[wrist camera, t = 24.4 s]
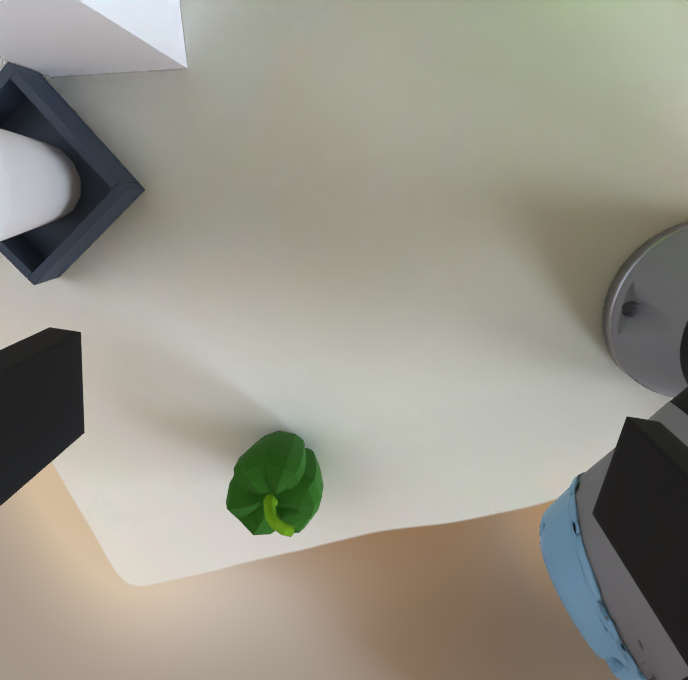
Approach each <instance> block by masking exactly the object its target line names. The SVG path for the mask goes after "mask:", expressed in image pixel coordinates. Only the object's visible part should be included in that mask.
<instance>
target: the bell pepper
mask: <svg viewBox="0 0 688 680" xmlns="http://www.w3.org/2000/svg"><path fill="white" fill-rule="evenodd" d="M322 491H323V481H322V476H321V471H320V467H319V464H318V461H317V459H316V457H315V454H314V452H313V451H312V450H310V449H307V448H305V446H304V441H303V440H302V439H301V438H300V437H298V436H297V435H296V434H292V433H288V432H283V431H277V432H274V433H271V434H269V435H266V436H264V437H262V438H261V439H260V440H259V441H258V442H256V443H255V444H254V445H253V446H252V447H251V448H250V449H248V450H247V451H246V452H245V453H244V454H243V455H242V456H241V457H240V458H239V460H238V462H237V464H236V465H235V467H234V476H233V478H232V480H231V482H230V484H229V489H228V495H227V500H226V505H227V509H228V510H229V511H230V512H231V513H232V514H233V515H234V516H235V517H236V518H238V519H239V520H240V521H241V522H242V523H243V525H244V526H245V527H246V528H247V529H248V530H249V531H250V532H251V533H252V534H253V535H262V534H271V533H272V532H274V531H277V532H278V533H280V534H281V535H285V536H289V537H291V536H292V535H293V534H294V533H299V532H300V531H301V530H302V529H304V528H305V526H306V525H307V524H308V522H309V521H310V520H311V518H312V517H313V516H314V514H315V513H316V512H317V511H318V508H319V505H320V502H321V497H322Z"/></svg>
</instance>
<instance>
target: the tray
mask: <svg viewBox="0 0 688 680" xmlns="http://www.w3.org/2000/svg"><path fill="white" fill-rule="evenodd" d="M0 129H3V130H6V131H10V132H13V133H16V134H20V135H23V136H26V137H29V138H33V139H36V140H39V141H42V142H45V143H47V144H50V145H52V146H54V147H57V148H59V149H61V150H62V151H63V152H64V153H65V154H66V155H67V156H68V157H69V158H70V159H71V161H72V162H73V163H74V165H75V167H76V170H77V172H78V175H79V177H80V179H81V196H80V198H79V200H78V202H77V204H76V206H75V208H74V210H73V211H71V212H70V213H68V214H67V215H65V216H64V217H62V218H59V219H58V220H55V221H53V222H50V223H47V224H45V225H42V226H39V227H37V228H34V229H32V230H29V231H26V232H24V233H21V234H18V235H16V236H13V237H11V238H8V239H5V240H3V241H0V252H1V253H2V254H3V255H4V256H5V257H6V258H7V259H8V260H9V261H10V262H11V263H12V264H13V265H14V266H15V267H16V268H17V269H18V270H19V271H20V272H21V273H22V274H23V275H24V276H25V277H26V278H28V280H29V281H30V282H31V283H32V284H33V285H36V284H39V283H42V282H46V281H49V280H52V279H55V278H59V277H60V276H61V275H62V274H63V273H64V272H65V271H66V270H67V269H68V268H69V267H70V266H71V265H72V264H73V263H74V262H75V261H76V260H77V259H78V257H79V256H80V255H81V254H82V253H83V252H84V251H85V250H86V249H87V248H88V247H89V246H90V245H91V244H92V243H93V242H94V241H95V240H96V239H97V238H98V237H99V236H100V235H101V234H102V233H103V232H104V231H105V230H106V229H107V228H108V227H109V226H110V225H111V224H112V223H113V222H114V221H115V220H116V219H117V218H118V217H119V216H120V215H121V214H122V213H123V212H124V211H125V210H126V209H127V208H128V207H129V206H130V205H131V204H132V203H133V202H134V201H135V200H136V199H137V198H138V197H139V196H140V195H141V194H142V193H143V192H144V191H145V189H144V188H143V187H142V186H141V185H140V184H139V182H138V181H137V180H136V179H135V178H134V177H133V176H132V175H131V174H130V172H129V171H128V170H127V169H126V168H125V167H124V166H123V165H122V164H121V162H120V161H119V160H118V159H117V158H116V157H115V156H114V155H113V154H112V153H111V151H110V150H109V149H108V148H107V147H106V146H105V145H104V144H103V143H102V141H101V140H100V139H99V138H98V137H97V136H96V135H95V134H94V133H93V131H92V130H91V129H90V128H89V127H88V126H87V125H86V124H85V123H84V121H83V120H82V119H81V118H80V117H79V116H78V115H77V114H76V113H75V112H74V110H73V109H72V108H71V107H70V106H69V105H68V104H67V103H66V102H65V100H64V99H63V98H62V97H61V96H60V95H59V94H58V93H57V92H56V90H55V89H54V88H53V87H52V86H51V85H50V84H49V83H48V82H47V81H46V79H45V78H44V77H43V76H42V75H41V74H40V73H39V72H37V71H34V70H32V69H29V68H26V67H23V66H19V65H16V64H13V63H10V62H7V64H6V65H5V66H4V67H3V69H2V70H1V71H0Z"/></svg>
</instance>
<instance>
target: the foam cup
mask: <svg viewBox="0 0 688 680" xmlns="http://www.w3.org/2000/svg"><path fill="white" fill-rule="evenodd" d="M80 196H81V179H80V177H79V175H78V172H77V170H76V167H75V165H74V163H73V162H72V161H71V159H70V158H69V157H68V156H67V155H66V154H65V153H64V152H63V151H62V150H61V149H59V148H57V147H54V146H52V145H50V144H47V143H45V142H42V141H39V140H36V139H33V138H29V137H26V136H23V135H20V134H16V133H13V132H10V131H6V130H3V129H0V241H3V240H5V239H8V238H11V237H13V236H16V235H18V234H21V233H24V232H26V231H29V230H32V229H34V228H37V227H39V226H42V225H45V224H47V223H50V222H53V221H55V220H58V219H59V218H62V217H64V216H65V215H67V214H68V213H70V212H71V211H73V210H74V208H75V206H76V204H77V202H78V200H79V198H80Z"/></svg>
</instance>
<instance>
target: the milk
mask: <svg viewBox="0 0 688 680" xmlns="http://www.w3.org/2000/svg"><path fill="white" fill-rule="evenodd" d="M0 57H2V58H4V59H7V60H9V61H12V62H14V63H17V64H19V65H22V66H24V67H27V68H29V69H32V70H34V71H37V72H39V73H42V74H45V75H47V76H50V77H57V76H73V75H89V74H105V73H122V72H138V71H154V70H170V69H186V68H188V67H187V59H186V51H185V43H184V35H183V27H182V19H181V11H180V3H179V0H0Z"/></svg>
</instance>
